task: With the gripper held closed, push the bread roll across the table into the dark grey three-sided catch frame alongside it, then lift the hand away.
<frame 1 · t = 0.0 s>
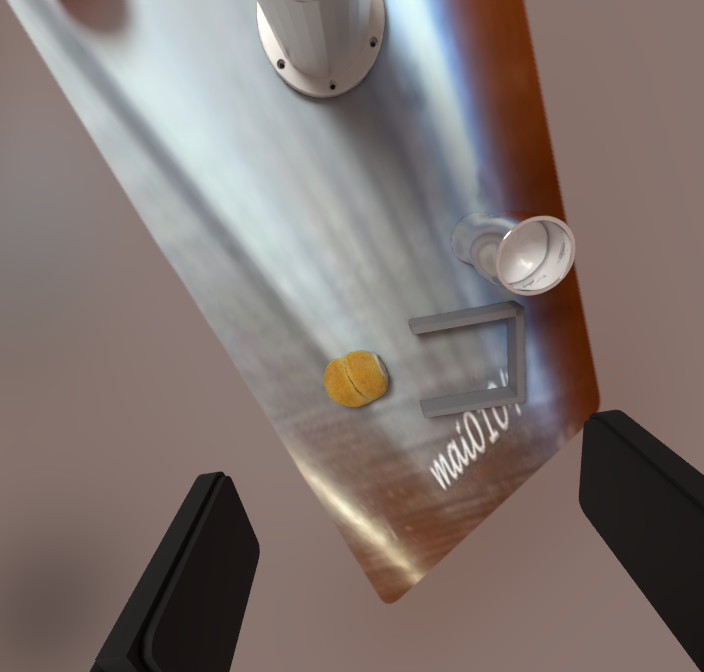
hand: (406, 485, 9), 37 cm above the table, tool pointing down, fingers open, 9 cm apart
catch frame: (464, 356, 48), on the table
beer glass: (474, 238, 42), on the table
bread roll: (356, 373, 50), on the table
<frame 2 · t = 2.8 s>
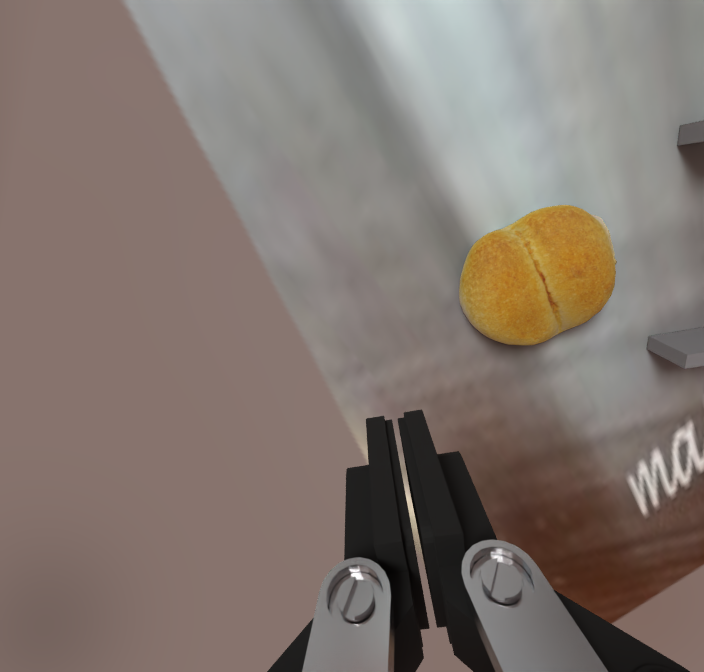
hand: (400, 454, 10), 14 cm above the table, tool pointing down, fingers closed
bread roll: (524, 274, 23), on the table
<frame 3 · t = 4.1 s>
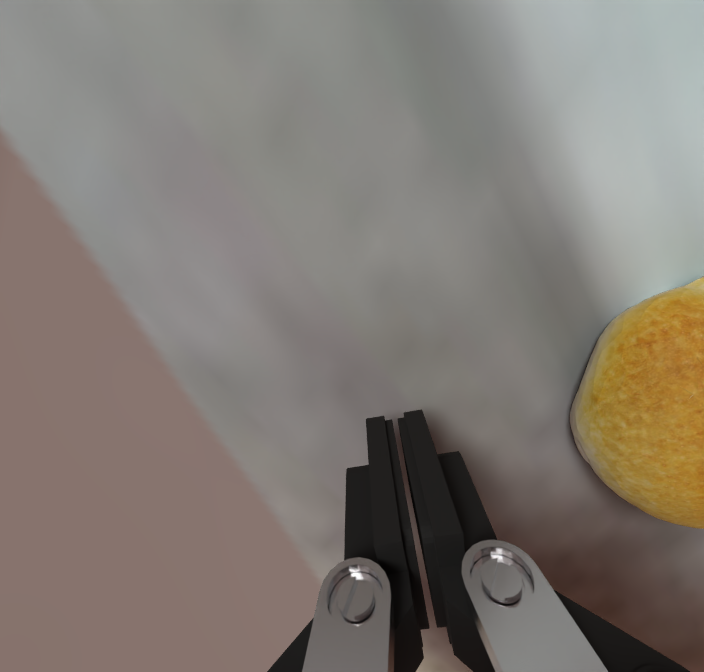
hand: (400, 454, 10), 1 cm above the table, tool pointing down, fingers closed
bread roll: (700, 368, 11), on the table
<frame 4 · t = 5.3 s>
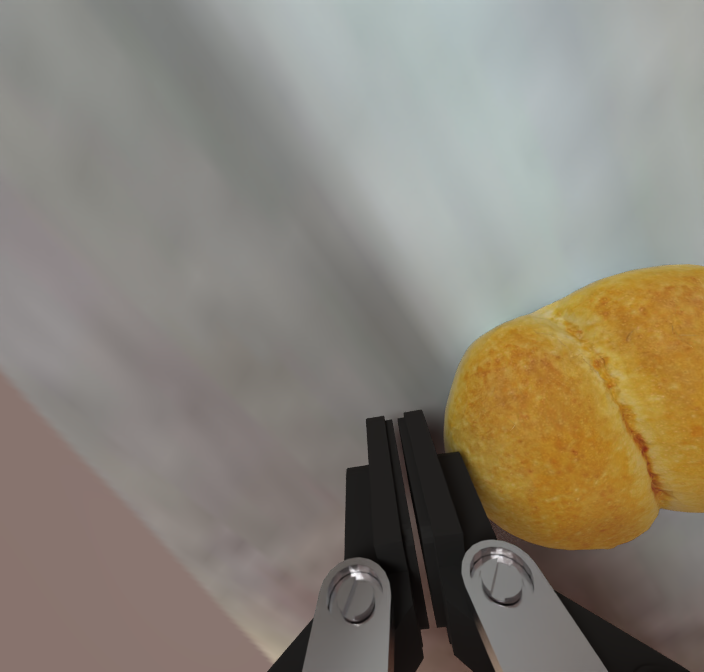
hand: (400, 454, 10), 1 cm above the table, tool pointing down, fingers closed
bread roll: (575, 388, 11), on the table
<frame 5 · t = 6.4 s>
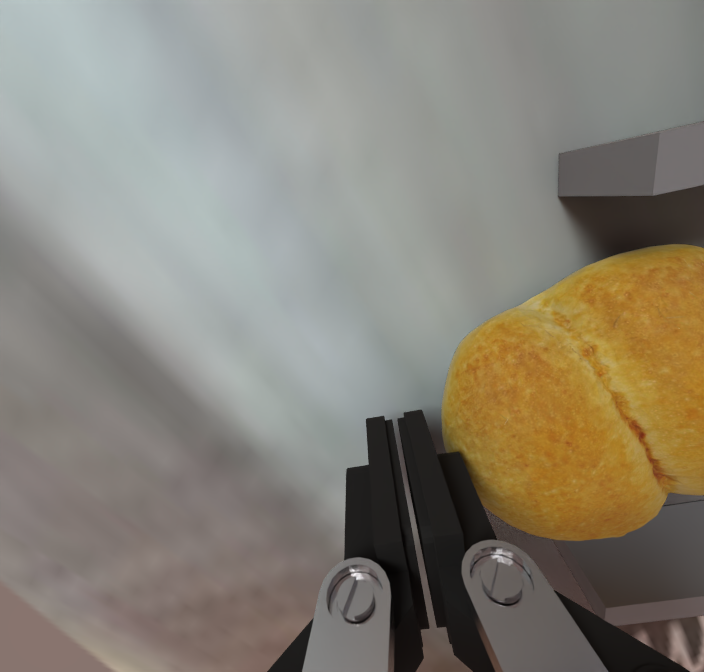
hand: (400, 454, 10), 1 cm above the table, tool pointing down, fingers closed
bread roll: (573, 376, 11), on the table, touching gripper
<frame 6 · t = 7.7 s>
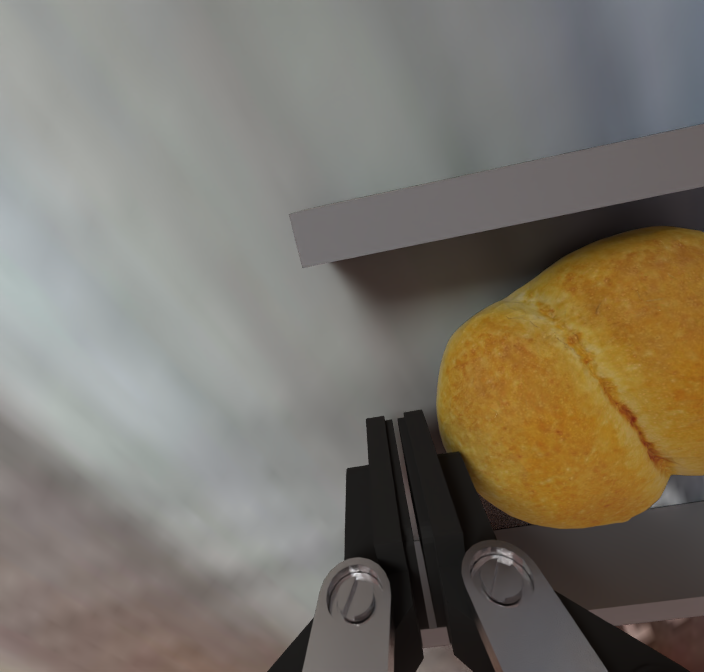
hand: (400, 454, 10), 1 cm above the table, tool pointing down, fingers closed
catch frame: (570, 389, 11), on the table
bread roll: (568, 364, 11), on the table, touching gripper
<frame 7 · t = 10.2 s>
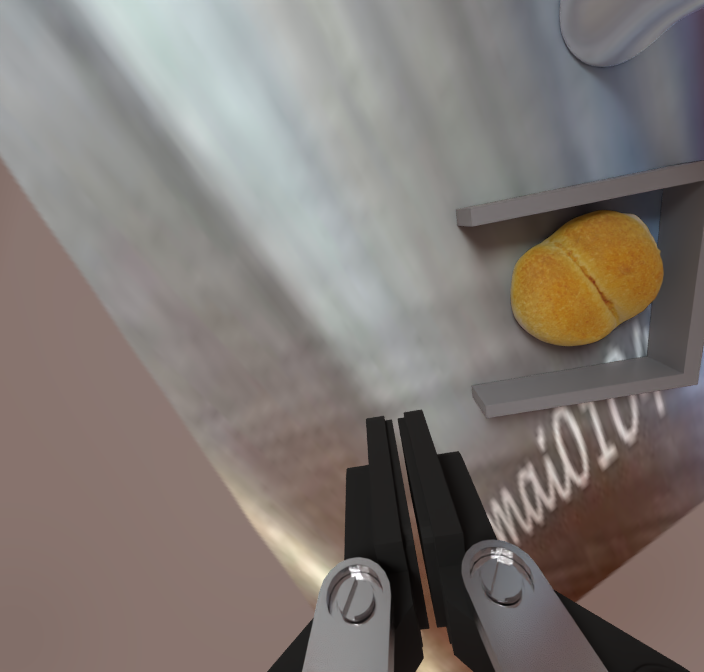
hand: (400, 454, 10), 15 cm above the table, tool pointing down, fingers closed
catch frame: (565, 293, 24), on the table
beer glass: (612, 3, 19), on the table
bread roll: (569, 277, 24), on the table
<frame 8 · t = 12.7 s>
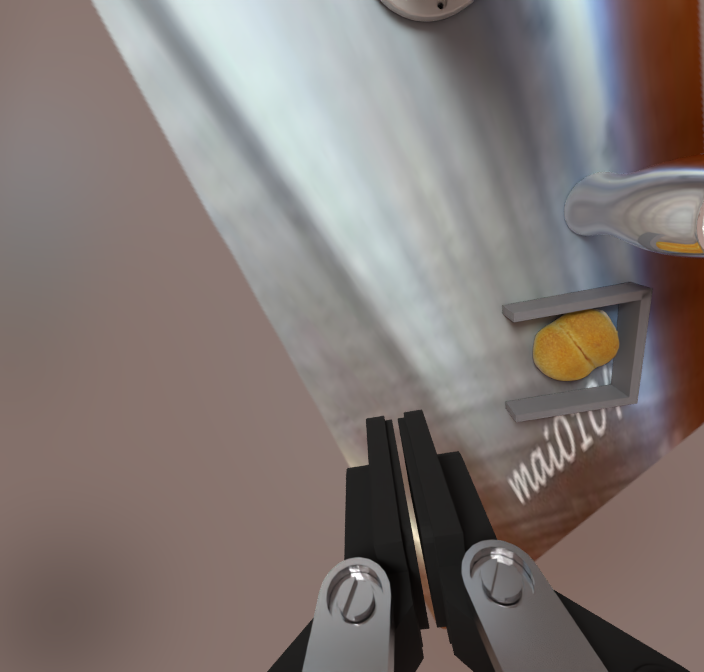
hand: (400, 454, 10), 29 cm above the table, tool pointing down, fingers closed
catch frame: (563, 349, 41), on the table
beer glass: (592, 204, 35), on the table
bread roll: (567, 339, 41), on the table
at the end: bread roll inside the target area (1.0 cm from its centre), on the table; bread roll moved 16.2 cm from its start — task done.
